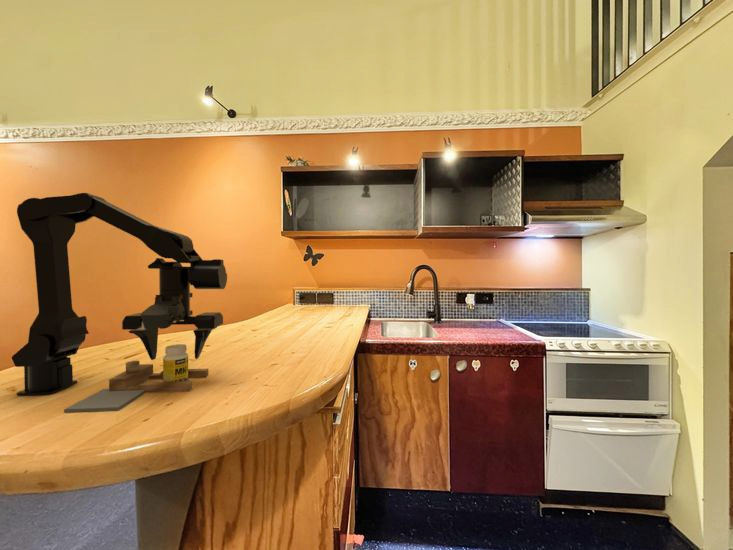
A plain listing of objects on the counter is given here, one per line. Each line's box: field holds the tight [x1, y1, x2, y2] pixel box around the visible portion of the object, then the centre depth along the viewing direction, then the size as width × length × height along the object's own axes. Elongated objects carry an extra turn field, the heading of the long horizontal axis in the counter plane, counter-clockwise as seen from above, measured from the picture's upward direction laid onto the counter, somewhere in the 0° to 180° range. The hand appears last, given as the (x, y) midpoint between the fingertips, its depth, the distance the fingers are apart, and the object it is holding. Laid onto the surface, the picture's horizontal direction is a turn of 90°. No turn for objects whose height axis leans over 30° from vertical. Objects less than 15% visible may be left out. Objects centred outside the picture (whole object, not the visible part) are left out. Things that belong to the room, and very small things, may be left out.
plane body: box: [108, 360, 209, 394], centre depth 66 cm, size 16×10×5 cm, turn 96°
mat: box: [63, 388, 146, 414], centre depth 58 cm, size 9×9×1 cm
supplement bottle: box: [162, 343, 189, 382], centre depth 66 cm, size 5×5×8 cm
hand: (175, 358), depth 66 cm, fingers open, 9 cm apart
